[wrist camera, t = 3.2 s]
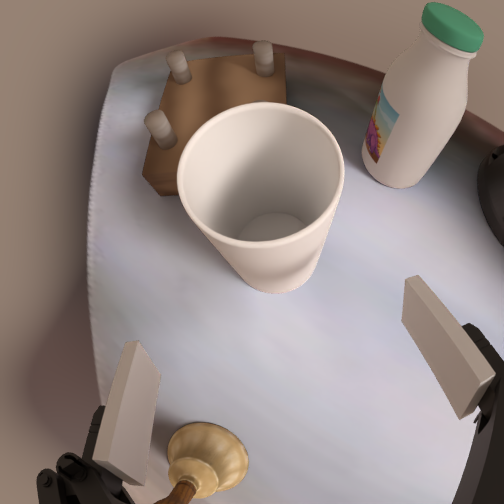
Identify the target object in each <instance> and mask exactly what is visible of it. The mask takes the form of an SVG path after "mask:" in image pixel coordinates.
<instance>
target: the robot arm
mask: <svg viewBox="0 0 504 504" xmlns="http://www.w3.org/2000/svg"><path fill="white" fill-rule="evenodd" d="M477 184H478V193H479V198H480V202H481V206H482V209H483V212H484V214H485V217H486V219H487V221H488V223H489V225H490V227H491V229H492V231H493V232H494V234H495V235H496V237H497V238H498V240H499V241H500V242H501V243H502V245H503V246H504V145H502V146H499V147H497V148H495V149H494V150H492V151H491V152H490V153H489V154H488V156H487V157H486V158H485V159H484V160H483V161H482V163H481V165H480V167H479V171H478V178H477ZM401 321H402V323H403V324H404V326H405V327H406V329H407V331H408V332H409V334H410V335H411V337H412V338H413V340H414V342H415V343H416V345H417V347H418V348H419V350H420V351H421V353H422V355H423V356H424V358H425V360H426V361H427V363H428V365H429V366H430V368H431V370H432V372H433V373H434V375H435V377H436V379H437V380H438V382H439V384H440V386H441V387H442V389H443V391H444V393H445V395H446V396H447V398H448V400H449V402H450V404H451V406H452V407H453V409H454V411H455V413H456V415H457V417H458V419H459V420H460V419H462V418H464V417H466V416H468V415H470V414H471V413H473V412H474V411H475V409H476V407H477V406H479V408H480V410H481V411H480V412H479V414H478V415H477V417H476V418H475V420H474V423H476V422H477V420H478V422H477V426H476V431H475V435H474V439H473V442H472V446H471V450H470V453H469V457H468V460H467V463H466V466H465V469H464V472H463V475H462V478H461V481H460V484H459V487H458V489H457V492H456V494H455V497H454V500H453V502H452V504H504V361H503V360H502V358H501V357H500V356H499V354H498V353H497V352H496V350H495V349H494V348H493V346H492V345H490V342H489V341H488V340H487V339H486V338H485V336H484V335H483V333H482V332H481V331H480V330H479V329H478V328H477V327H475V326H474V325H472V324H470V323H468V324H466V325H463V326H461V325H460V324H459V323H458V322H457V320H456V319H455V318H454V317H453V315H452V314H451V313H450V312H449V310H448V309H447V308H446V307H445V305H444V304H443V303H442V302H441V301H440V299H439V298H438V297H437V296H436V295H435V294H434V292H433V291H432V290H431V289H430V288H429V287H428V285H427V284H426V283H425V282H424V281H423V280H422V278H421V277H420V276H419V275H416V276H413V277H410V278H407V279H405V288H404V300H403V311H402V320H401ZM160 380H161V374H160V373H159V371H158V370H157V368H156V367H155V365H154V364H153V362H152V361H151V359H150V358H149V356H148V355H147V353H146V351H145V350H144V348H143V347H142V345H141V343H140V342H139V340H138V341H131V342H126V343H125V346H124V349H123V352H122V355H121V358H120V361H119V364H118V367H117V370H116V374H115V377H114V380H113V383H112V387H111V390H110V393H109V397H108V400H107V404H106V406H99V407H98V409H97V410H96V412H95V413H94V415H93V419H92V422H91V426H90V429H89V433H88V437H87V440H86V444H85V448H84V452H83V456H82V459H81V458H80V457H79V456H77V455H76V454H74V453H69V452H68V453H65V454H63V455H62V456H61V457H60V458H59V459H58V461H57V465H56V470H57V473H56V472H54V471H53V470H51V469H44V470H42V471H41V472H40V473H39V474H38V476H37V491H38V498H39V504H135V503H134V501H133V500H132V498H131V497H130V495H129V494H128V492H127V491H126V489H125V488H124V487H123V486H122V482H123V481H125V482H126V483H128V484H129V485H138V486H145V480H146V472H147V464H148V456H149V448H150V441H151V434H152V428H153V421H154V415H155V409H156V403H157V397H158V391H159V385H160Z"/></svg>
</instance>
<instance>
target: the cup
mask: <svg viewBox="0 0 504 504" xmlns="http://www.w3.org/2000/svg"><path fill="white" fill-rule="evenodd" d="M343 183H344V161H343V156H342V153H341V149H340V147H339V145H338V143H337V141H336V139H335V137H334V136H333V135H332V133H331V132H330V131H329V130H328V128H327V127H326V126H325V125H324V124H323V123H322V122H320V121H319V120H318V119H317V118H315V117H314V116H312V115H310V114H309V113H307V112H305V111H303V110H301V109H298V108H296V107H293V106H289V105H285V104H280V103H271V102H258V103H250V104H244V105H240V106H237V107H233V108H231V109H228V110H226V111H224V112H222V113H220V114H218V115H216V116H214V117H213V118H211V119H210V120H208V121H207V122H206V123H205V124H203V125H202V126H201V127H200V128H199V129H198V130H197V131H196V132H195V133H194V135H193V136H192V137H191V138H190V140H189V141H188V143H187V145H186V146H185V148H184V150H183V152H182V155H181V158H180V161H179V165H178V170H177V186H178V192H179V196H180V199H181V202H182V204H183V206H184V208H185V210H186V212H187V214H188V215H189V217H190V218H191V219H192V221H193V222H194V223H195V224H196V225H197V227H198V228H199V229H200V230H201V231H202V232H203V234H204V235H205V236H206V237H207V238H208V240H209V241H210V242H211V243H212V244H213V245H214V246H215V248H216V249H217V250H218V251H219V252H220V253H221V255H222V256H223V257H224V258H225V259H226V260H227V261H228V263H229V264H230V265H231V266H232V267H233V268H234V269H235V271H236V272H237V273H238V274H239V275H240V276H241V277H242V278H243V280H244V281H245V282H246V283H247V284H249V285H250V286H251V287H253V288H255V289H257V290H259V291H262V292H265V293H271V294H280V293H286V292H289V291H292V290H294V289H296V288H298V287H300V286H301V285H302V284H304V283H305V282H306V281H307V280H308V279H309V277H310V276H311V275H312V273H313V271H314V269H315V267H316V264H317V262H318V259H319V256H320V254H321V251H322V248H323V245H324V243H325V240H326V237H327V234H328V231H329V228H330V226H331V223H332V220H333V217H334V214H335V211H336V208H337V205H338V202H339V199H340V196H341V192H342V189H343Z"/></svg>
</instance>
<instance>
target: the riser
mask: <svg viewBox="0 0 504 504" xmlns="http://www.w3.org/2000/svg"><path fill="white" fill-rule="evenodd" d="M253 52H254V54H249V55H235V56H224V57H215V58H207V59H199V60H192V61H186V59H185V57H184V54H183V52H182V51H181V50H176V51H172V52H170V53H169V54H168V55H167V56H166V61H167V63H168V65H169V67H170V70H171V71H170V74H169V77H168V80H167V83H166V86H165V90H164V93H163V96H162V99H161V103H160V106H159V109H158V110H154V111H152V112H150V113H149V114H148V115H147V116H146V117H145V119H144V124H145V125H146V127H147V128H148V130H149V131H150V133H151V134H152V135H151V139H150V142H149V146H148V150H147V155H146V159H145V163H144V167H143V172H142V176H143V177H144V178H145V179H146V180H147V181H148V182H149V184H150V185H151V186H152V187H153V188H154V189H155V190H156V192H157V193H158V194H159V195H160V196H171V195H179V192H178V186H177V170H178V165H179V161H180V158H181V155H182V152H183V150H184V148H185V146H186V145H187V143H188V141H189V140H190V138H191V137H192V136H193V135H194V133H195V132H196V131H197V130H198V129H199V128H200V127H201V126H202V125H203V124H205V123H206V122H207V121H208V120H210V119H211V118H213V117H214V116H216V115H218V114H220V113H222V112H224V111H226V110H228V109H231V108H233V107H237V106H240V105H244V104H250V103H258V102H271V103H280V104H285V105H287V101H286V75H285V56H284V53H273V50H272V44H271V42H268V41H258V42H255V43H254V44H253Z"/></svg>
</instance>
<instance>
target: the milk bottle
mask: <svg viewBox="0 0 504 504" xmlns="http://www.w3.org/2000/svg"><path fill="white" fill-rule="evenodd" d="M419 26H420V29H421V33H420V35H419V36H418V38H417V39H416V40H415V42H414V43H413V44H412V45H411V46H410V47H409V48H407V49H406V50H405V51H404V52H402V53H401V54H400V55H399V56H398V57H397V58H396V59H395V60H394V61H393V63H392V64H391V66H390V67H389V69H388V71H387V73H386V75H385V77H384V80H383V83H382V86H381V89H380V92H379V95H378V98H377V101H376V104H375V107H374V110H373V114H372V117H371V120H370V123H369V126H368V129H367V132H366V136H365V139H364V142H363V146H362V159H363V162H364V164H365V167H366V169H367V170H368V171H369V173H370V174H371V175H372V176H373V177H374V178H375V179H376V180H377V181H379V182H380V183H382V184H384V185H385V186H388V187H391V188H397V189H404V188H409V187H412V186H414V185H415V184H417V183H418V182H419V181H420V180H421V178H422V177H423V176H424V174H425V173H426V172H427V170H428V169H429V168H430V166H431V165H432V164H433V162H434V161H435V159H436V158H437V157H438V155H439V154H440V152H441V151H442V149H443V148H444V146H445V145H446V143H447V142H448V140H449V139H450V137H451V136H452V134H453V133H454V131H455V130H456V128H457V126H458V124H459V123H460V121H461V119H462V116H463V114H464V111H465V108H466V104H467V72H468V65H469V61H470V59H471V58H474V57H475V56H476V52H477V51H478V50H479V48H480V46H481V44H482V42H483V37H484V35H483V32H482V30H481V28H480V27H479V26H478V25H477V24H476V23H475V22H474V21H473V20H472V19H470V18H469V17H468V16H467V15H465V14H463V13H462V12H460V11H458V10H456V9H454V8H452V7H450V6H447V5H444V4H441V3H436V2H431V3H427V4H426V6H425V8H424V10H423V14H422V21H421V22H420V24H419Z"/></svg>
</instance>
